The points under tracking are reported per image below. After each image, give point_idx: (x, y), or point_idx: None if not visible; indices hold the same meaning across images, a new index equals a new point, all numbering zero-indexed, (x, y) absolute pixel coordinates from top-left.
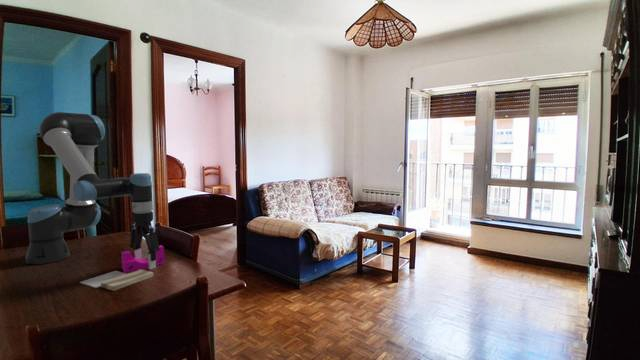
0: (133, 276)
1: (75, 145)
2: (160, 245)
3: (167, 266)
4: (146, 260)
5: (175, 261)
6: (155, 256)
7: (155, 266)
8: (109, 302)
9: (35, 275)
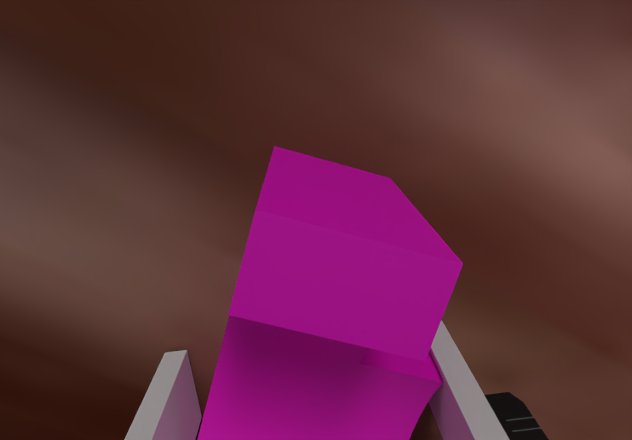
0: None
1: None
2: (277, 244)
3: (509, 209)
4: (312, 403)
5: (427, 28)
6: (541, 435)
7: (445, 331)
8: None
9: None
